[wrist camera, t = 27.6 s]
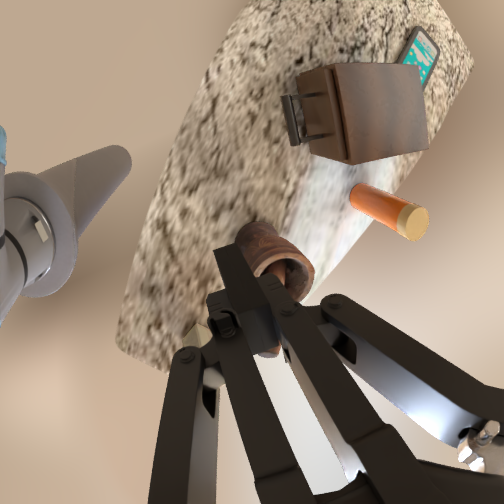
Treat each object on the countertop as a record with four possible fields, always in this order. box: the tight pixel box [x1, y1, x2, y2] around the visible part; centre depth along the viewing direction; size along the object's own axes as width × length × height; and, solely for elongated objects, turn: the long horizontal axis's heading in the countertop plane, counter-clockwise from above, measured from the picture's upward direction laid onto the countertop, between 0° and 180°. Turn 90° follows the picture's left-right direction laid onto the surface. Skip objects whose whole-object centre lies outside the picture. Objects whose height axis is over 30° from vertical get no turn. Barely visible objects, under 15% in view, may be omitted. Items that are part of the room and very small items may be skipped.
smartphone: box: [396, 26, 440, 92], centre depth 40 cm, size 9×1×15 cm
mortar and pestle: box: [235, 222, 315, 358], centre depth 40 cm, size 12×9×20 cm
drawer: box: [280, 69, 347, 162], centre depth 37 cm, size 19×12×9 cm, turn 103°
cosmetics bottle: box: [182, 323, 213, 348], centre depth 48 cm, size 5×4×10 cm
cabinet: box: [299, 63, 429, 165], centre depth 37 cm, size 16×14×11 cm
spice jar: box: [350, 183, 429, 241], centre depth 43 cm, size 5×5×15 cm
